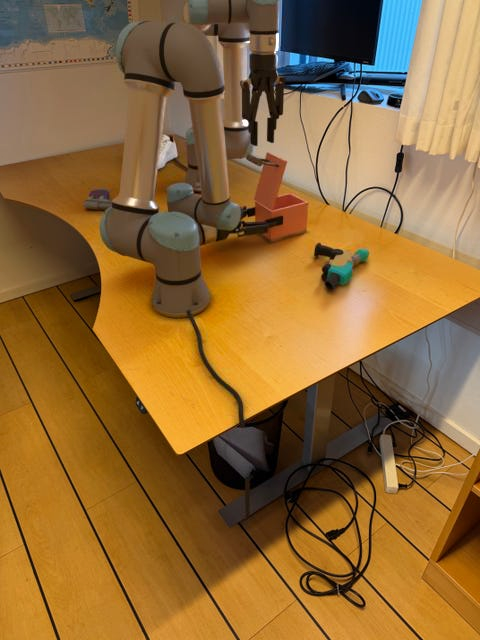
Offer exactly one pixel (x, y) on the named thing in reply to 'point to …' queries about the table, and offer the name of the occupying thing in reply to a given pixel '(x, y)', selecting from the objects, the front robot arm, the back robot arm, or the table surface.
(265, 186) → the lid
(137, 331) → the table surface
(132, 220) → the front robot arm
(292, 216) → the chest
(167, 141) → the sneaker
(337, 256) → the toy gun
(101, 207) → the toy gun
